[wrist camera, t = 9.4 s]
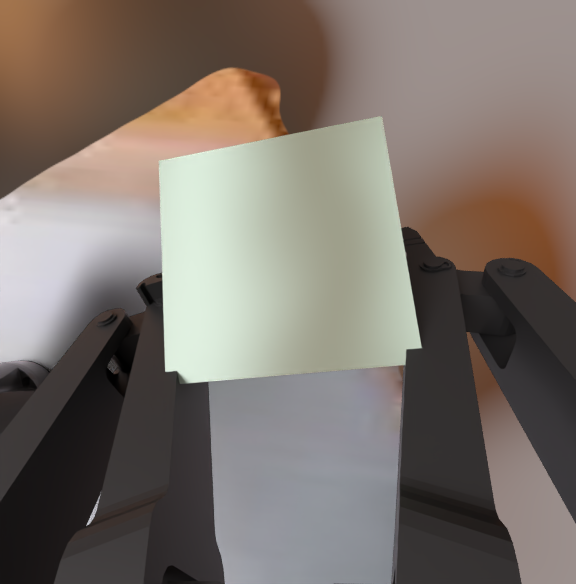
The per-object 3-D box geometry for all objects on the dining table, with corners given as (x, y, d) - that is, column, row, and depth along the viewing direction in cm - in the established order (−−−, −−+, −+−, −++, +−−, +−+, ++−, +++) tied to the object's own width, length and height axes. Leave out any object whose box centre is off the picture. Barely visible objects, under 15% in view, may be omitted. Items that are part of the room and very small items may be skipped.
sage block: (270, 353, 19) (165, 385, 7) (263, 264, 20) (158, 160, 8) (365, 344, 18) (424, 363, 6) (351, 251, 19) (381, 116, 7)
